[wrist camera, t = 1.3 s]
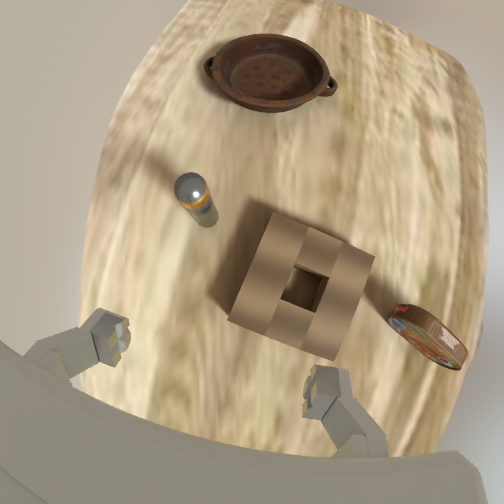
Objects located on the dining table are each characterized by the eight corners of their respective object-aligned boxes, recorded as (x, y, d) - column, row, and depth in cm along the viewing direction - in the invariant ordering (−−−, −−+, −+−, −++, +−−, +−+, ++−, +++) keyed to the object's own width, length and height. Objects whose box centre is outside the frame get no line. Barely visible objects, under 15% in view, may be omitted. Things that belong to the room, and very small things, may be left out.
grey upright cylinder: (213, 231, 38) (197, 207, 26) (191, 223, 38) (167, 196, 26) (222, 210, 38) (211, 177, 26) (201, 202, 38) (182, 167, 27)
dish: (331, 137, 40) (339, 121, 35) (190, 115, 40) (184, 97, 36) (335, 64, 42) (341, 46, 37) (217, 45, 43) (215, 27, 38)
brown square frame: (325, 354, 36) (333, 361, 32) (229, 316, 37) (226, 320, 33) (363, 259, 38) (374, 256, 34) (270, 219, 38) (273, 211, 34)
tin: (378, 316, 37) (407, 322, 28) (389, 298, 37) (421, 300, 29) (436, 366, 36) (467, 378, 27) (446, 349, 36) (478, 358, 28)
